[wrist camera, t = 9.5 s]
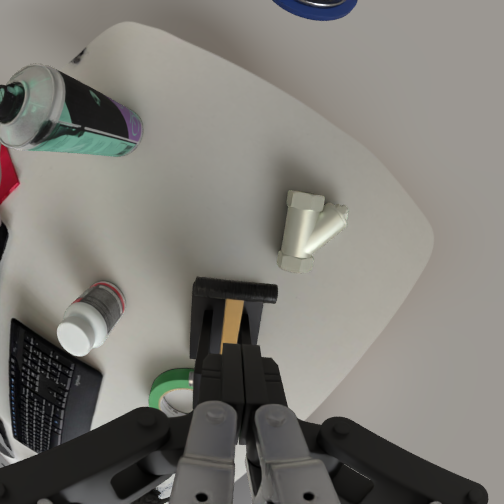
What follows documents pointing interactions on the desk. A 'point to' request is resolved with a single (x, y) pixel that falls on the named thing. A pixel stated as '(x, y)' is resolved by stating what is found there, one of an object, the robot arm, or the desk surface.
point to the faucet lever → (234, 300)
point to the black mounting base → (216, 332)
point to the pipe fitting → (308, 229)
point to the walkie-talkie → (150, 498)
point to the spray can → (64, 116)
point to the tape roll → (169, 389)
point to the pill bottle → (91, 318)
